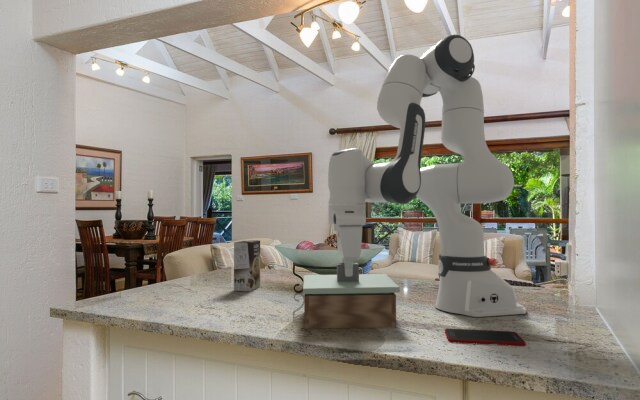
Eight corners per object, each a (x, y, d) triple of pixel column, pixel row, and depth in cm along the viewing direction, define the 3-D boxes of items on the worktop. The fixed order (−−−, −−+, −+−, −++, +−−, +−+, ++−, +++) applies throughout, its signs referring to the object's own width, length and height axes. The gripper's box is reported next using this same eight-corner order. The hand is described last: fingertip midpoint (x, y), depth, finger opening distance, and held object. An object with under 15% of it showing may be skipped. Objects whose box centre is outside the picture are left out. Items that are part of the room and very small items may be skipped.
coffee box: (251, 291, 134) (251, 242, 134) (233, 291, 135) (232, 241, 135) (261, 286, 143) (261, 239, 143) (243, 285, 144) (243, 239, 144)
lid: (385, 282, 106) (385, 258, 107) (399, 297, 89) (399, 268, 90) (304, 283, 106) (303, 259, 106) (303, 298, 89) (302, 270, 89)
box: (383, 313, 106) (383, 281, 106) (396, 331, 90) (395, 294, 90) (305, 313, 105) (305, 282, 105) (304, 332, 89) (304, 295, 89)
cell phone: (444, 332, 90) (444, 328, 90) (515, 336, 88) (515, 331, 88) (448, 344, 83) (448, 339, 83) (527, 348, 80) (527, 343, 80)
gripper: (331, 215, 108) (332, 268, 108) (336, 217, 88) (337, 282, 88) (355, 215, 108) (356, 267, 108) (366, 217, 88) (366, 282, 88)
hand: (347, 274), depth 98 cm, fingers closed on lid, 2 cm apart
